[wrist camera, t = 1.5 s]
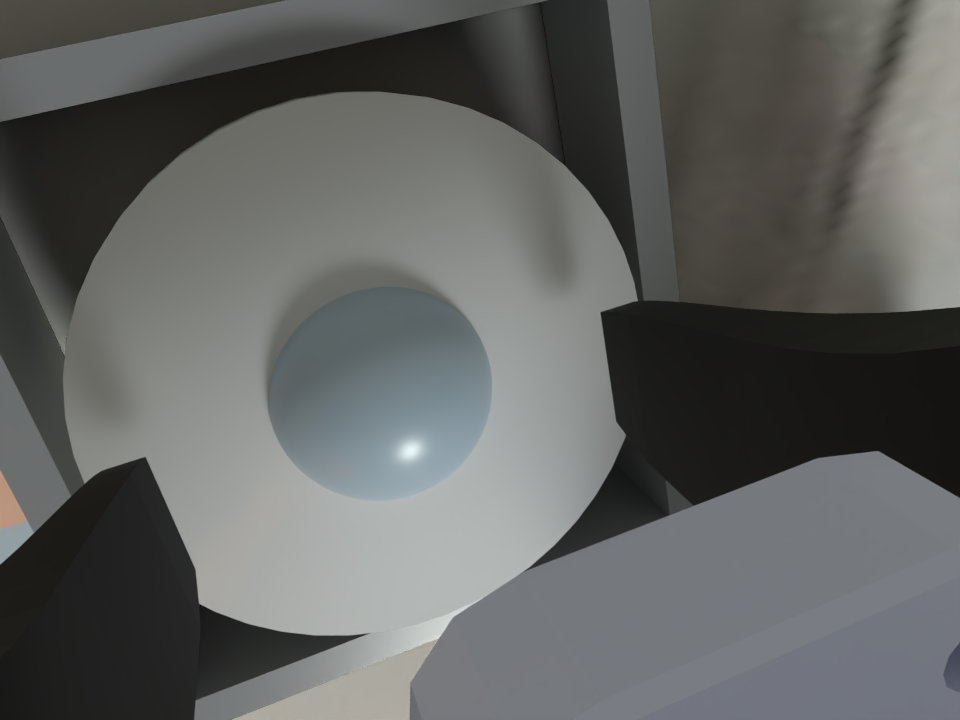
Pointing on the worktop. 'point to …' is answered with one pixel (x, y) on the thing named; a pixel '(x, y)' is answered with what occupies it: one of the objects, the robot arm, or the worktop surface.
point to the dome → (354, 358)
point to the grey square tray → (293, 32)
